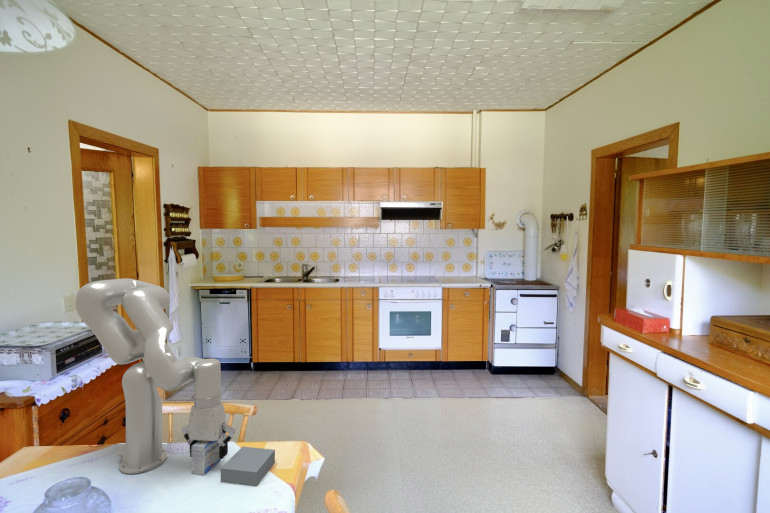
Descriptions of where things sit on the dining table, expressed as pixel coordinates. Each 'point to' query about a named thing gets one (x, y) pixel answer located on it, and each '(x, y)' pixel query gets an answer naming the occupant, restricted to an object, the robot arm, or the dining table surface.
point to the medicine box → (204, 456)
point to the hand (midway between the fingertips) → (208, 455)
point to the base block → (248, 466)
